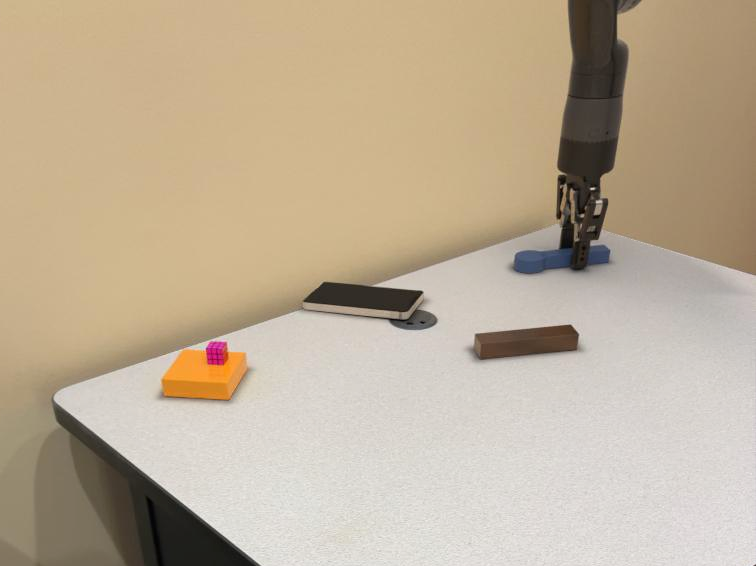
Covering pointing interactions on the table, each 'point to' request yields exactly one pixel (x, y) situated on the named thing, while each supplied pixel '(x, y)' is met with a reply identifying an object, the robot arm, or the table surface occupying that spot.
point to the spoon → (555, 258)
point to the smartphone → (364, 300)
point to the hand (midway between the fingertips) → (572, 260)
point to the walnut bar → (526, 341)
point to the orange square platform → (205, 373)
